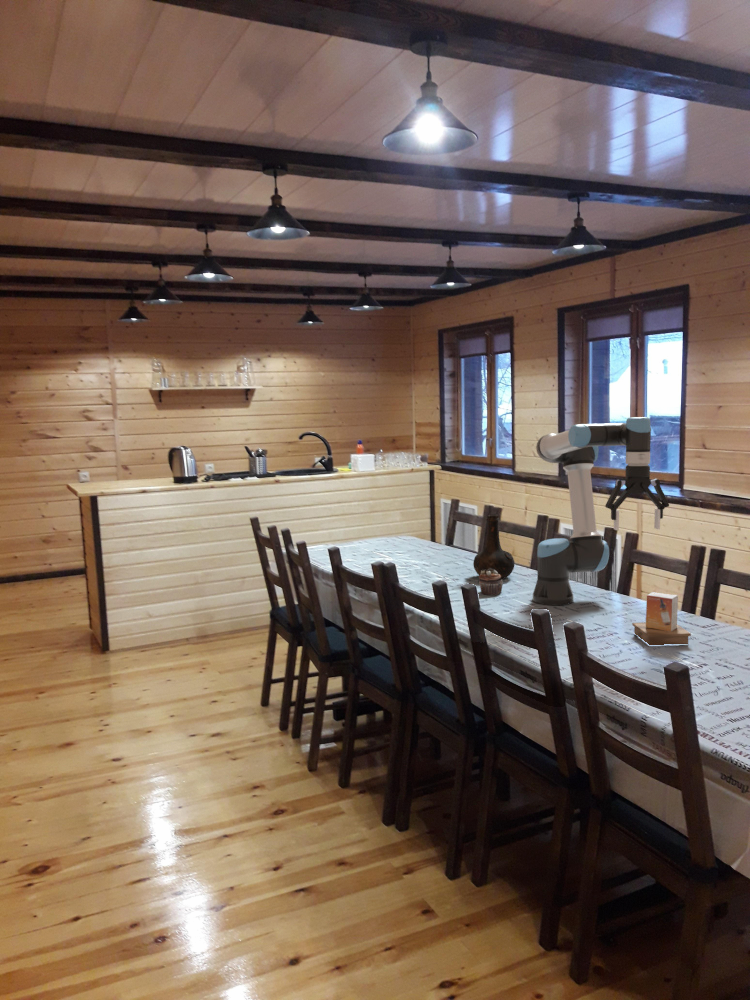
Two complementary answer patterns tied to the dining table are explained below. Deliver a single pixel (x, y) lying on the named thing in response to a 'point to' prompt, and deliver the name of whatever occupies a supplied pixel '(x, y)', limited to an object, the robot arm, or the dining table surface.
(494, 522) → the glass bottle
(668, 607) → the small box
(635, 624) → the stand
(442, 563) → the dining table surface
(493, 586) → the cupcake
